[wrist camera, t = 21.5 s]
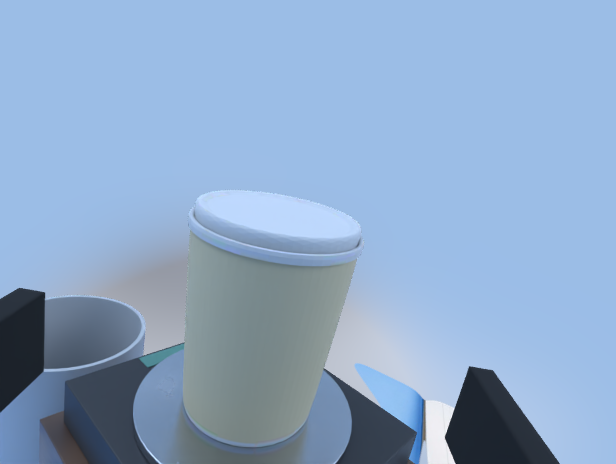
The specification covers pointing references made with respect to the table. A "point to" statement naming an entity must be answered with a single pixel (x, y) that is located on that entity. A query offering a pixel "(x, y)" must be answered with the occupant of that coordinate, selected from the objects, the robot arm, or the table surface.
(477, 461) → the robot arm
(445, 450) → the table surface
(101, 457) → the scale
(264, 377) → the coffee cup
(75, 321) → the cylinder vase
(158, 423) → the scale pan
